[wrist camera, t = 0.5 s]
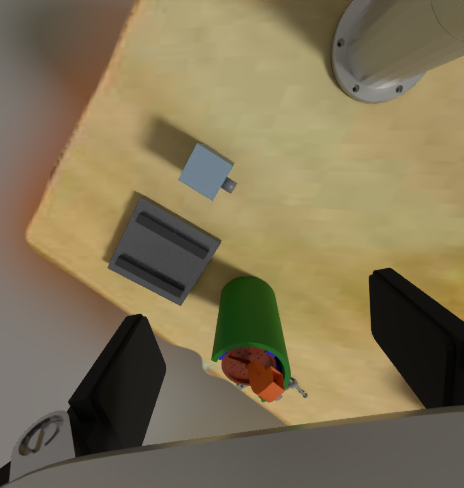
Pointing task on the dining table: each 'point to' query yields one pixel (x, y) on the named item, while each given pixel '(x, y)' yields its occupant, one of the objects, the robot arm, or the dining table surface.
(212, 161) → the slate grey block
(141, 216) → the mounting bracket
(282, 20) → the dining table surface
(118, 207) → the dining table surface
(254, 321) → the motor
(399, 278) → the robot arm
